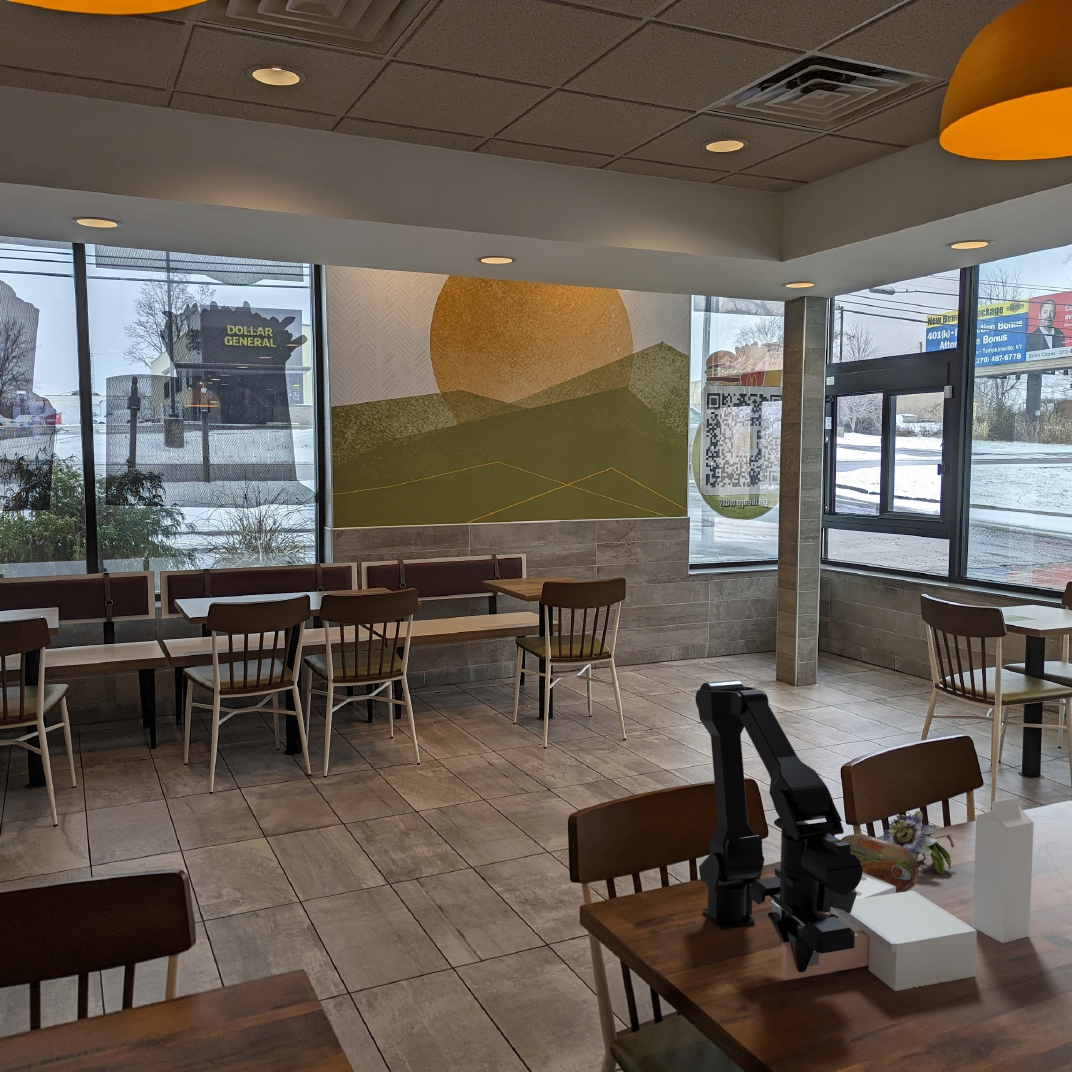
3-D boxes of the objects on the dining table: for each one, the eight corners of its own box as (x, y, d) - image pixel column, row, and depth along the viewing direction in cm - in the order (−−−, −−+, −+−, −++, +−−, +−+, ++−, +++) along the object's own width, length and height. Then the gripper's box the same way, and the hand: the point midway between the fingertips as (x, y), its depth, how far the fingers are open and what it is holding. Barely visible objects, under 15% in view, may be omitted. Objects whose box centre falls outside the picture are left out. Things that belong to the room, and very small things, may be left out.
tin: (834, 873, 177) (835, 829, 177) (843, 869, 179) (845, 825, 179) (911, 901, 166) (912, 854, 165) (920, 896, 168) (921, 850, 167)
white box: (890, 992, 137) (892, 944, 137) (832, 945, 150) (833, 901, 150) (975, 976, 141) (976, 929, 141) (911, 932, 155) (913, 889, 154)
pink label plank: (785, 980, 139) (786, 947, 139) (781, 975, 140) (781, 942, 140) (912, 957, 146) (913, 926, 145) (906, 954, 147) (908, 922, 147)
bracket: (844, 925, 158) (845, 880, 157) (811, 908, 164) (812, 865, 163) (895, 906, 165) (896, 863, 164) (861, 891, 171) (862, 849, 170)
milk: (1029, 937, 154) (1036, 803, 152) (1002, 944, 151) (1008, 808, 150) (997, 920, 159) (1003, 791, 158) (970, 927, 157) (976, 795, 155)
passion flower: (898, 894, 181) (862, 836, 184) (927, 869, 188) (891, 813, 191) (944, 880, 173) (905, 819, 176) (972, 854, 179) (934, 796, 183)
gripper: (889, 884, 133) (886, 992, 134) (811, 835, 151) (809, 931, 152) (820, 895, 130) (817, 1006, 131) (749, 844, 147) (747, 942, 148)
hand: (798, 968), depth 140 cm, fingers closed on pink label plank
